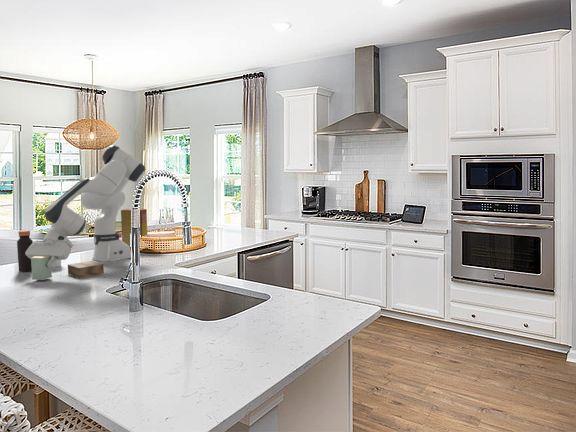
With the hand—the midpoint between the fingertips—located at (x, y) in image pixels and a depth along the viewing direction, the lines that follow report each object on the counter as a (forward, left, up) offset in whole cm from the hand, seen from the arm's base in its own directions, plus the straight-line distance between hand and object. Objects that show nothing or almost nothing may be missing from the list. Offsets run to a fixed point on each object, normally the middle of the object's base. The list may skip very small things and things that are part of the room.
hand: (40, 265), depth 213 cm
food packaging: (-66, -52, -7) cm, 84 cm away
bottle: (0, -27, -7) cm, 28 cm away
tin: (0, 0, -6) cm, 6 cm away
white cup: (-13, -29, -7) cm, 32 cm away
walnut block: (-20, 0, -7) cm, 21 cm away
